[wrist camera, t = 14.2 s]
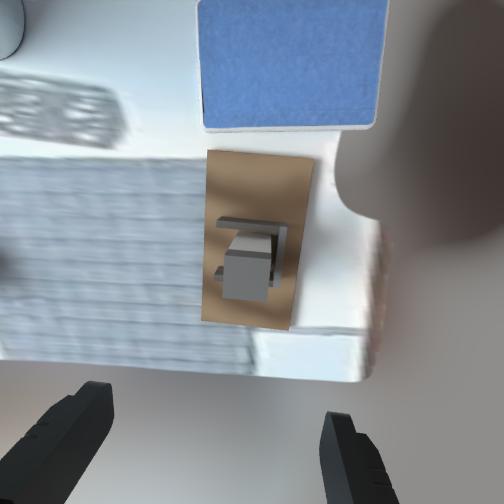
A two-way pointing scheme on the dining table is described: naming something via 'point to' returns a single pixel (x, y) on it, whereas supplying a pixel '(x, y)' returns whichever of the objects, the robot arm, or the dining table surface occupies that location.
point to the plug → (247, 267)
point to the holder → (254, 230)
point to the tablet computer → (289, 64)
